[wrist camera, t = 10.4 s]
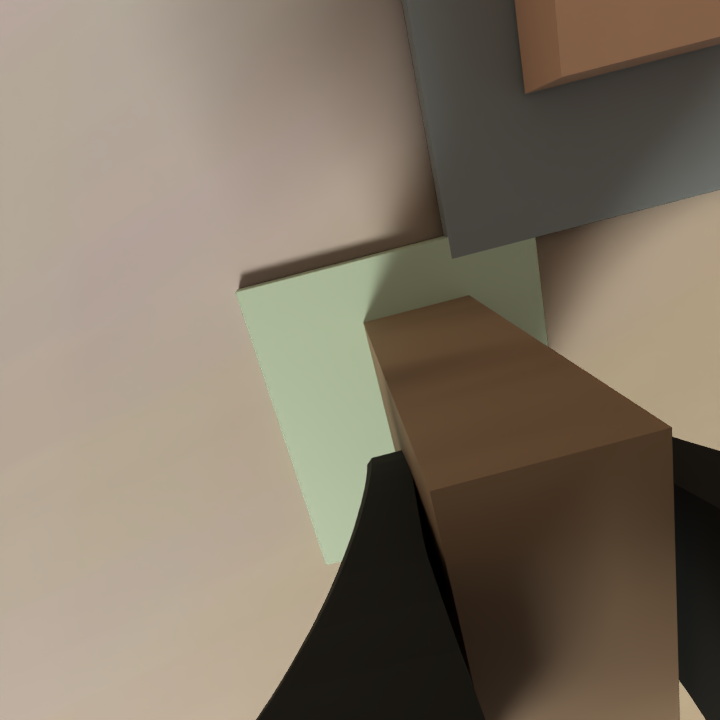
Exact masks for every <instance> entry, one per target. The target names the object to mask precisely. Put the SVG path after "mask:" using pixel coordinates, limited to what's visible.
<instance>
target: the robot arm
mask: <svg viewBox="0 0 720 720" xmlns="http://www.w3.org/2000/svg"><path fill="white" fill-rule="evenodd" d="M672 448H673V485H674V523H675V560H676V597H677V634H678V671H679V681H680V682H681V683H682V685H683V686H684V687H685V689H686V690H687V692H688V693H689V695H690V696H691V698H692V699H693V701H694V702H695V704H696V705H697V707H698V708H699V710H700V711H701V713H702V714H703V716H704V717H705V719H706V720H720V451H718V450H715V449H711V448H708V447H704V446H701V445H698V444H694V443H691V442H687V441H684V440H681V439H678V438H674V437H672ZM256 720H485V717H484V714H483V712H482V709H481V706H480V703H479V701H478V698H477V695H476V692H475V690H474V687H473V684H472V681H471V679H470V676H469V673H468V670H467V668H466V665H465V662H464V659H463V657H462V654H461V651H460V648H459V646H458V643H457V640H456V637H455V634H454V631H453V628H452V626H451V623H450V620H449V617H448V614H447V611H446V609H445V606H444V603H443V600H442V597H441V594H440V590H439V586H438V582H437V577H436V573H435V569H434V565H433V561H432V557H431V552H430V548H429V544H428V540H427V536H426V531H425V527H424V523H423V519H422V515H421V510H420V506H419V502H418V498H417V494H416V489H415V485H414V481H413V477H412V473H411V470H410V468H409V465H408V463H407V461H406V458H405V456H404V454H403V452H402V450H400V451H396V452H392V453H389V454H385V455H381V456H377V457H373V458H371V460H370V461H369V463H368V464H367V475H366V482H365V488H364V492H363V497H362V501H361V505H360V508H359V512H358V515H357V519H356V522H355V526H354V529H353V532H352V535H351V538H350V541H349V543H348V546H347V549H346V551H345V554H344V557H343V559H342V562H341V565H340V567H339V570H338V573H337V575H336V577H335V580H334V582H333V584H332V587H331V589H330V591H329V593H328V595H327V598H326V600H325V602H324V604H323V606H322V608H321V610H320V612H319V614H318V616H317V618H316V620H315V622H314V624H313V626H312V628H311V630H310V632H309V633H308V635H307V637H306V639H305V641H304V642H303V644H302V646H301V648H300V650H299V651H298V653H297V655H296V657H295V659H294V660H293V662H292V664H291V666H290V667H289V669H288V671H287V672H286V674H285V676H284V677H283V679H282V681H281V682H280V684H279V686H278V687H277V689H276V690H275V692H274V694H273V695H272V697H271V698H270V700H269V701H268V703H267V704H266V706H265V707H264V709H263V710H262V712H261V713H260V715H259V716H258V718H257V719H256Z"/></svg>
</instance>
